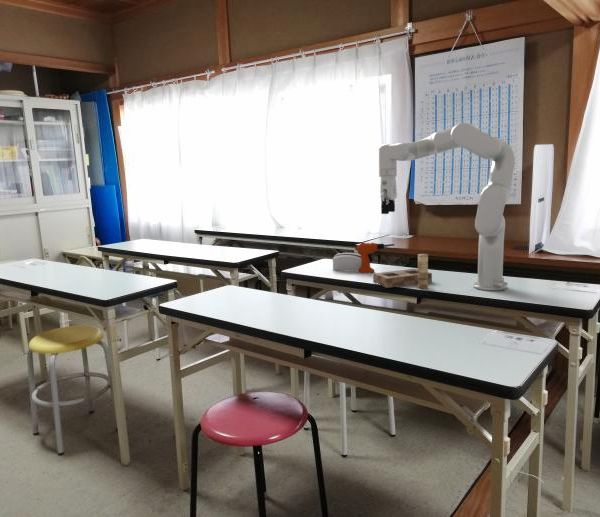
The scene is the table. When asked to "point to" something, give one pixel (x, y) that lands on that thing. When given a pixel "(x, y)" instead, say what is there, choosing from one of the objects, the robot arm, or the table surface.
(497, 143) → the robot arm
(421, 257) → the peg
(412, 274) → the board
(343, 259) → the grey toaster
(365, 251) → the toy drill
